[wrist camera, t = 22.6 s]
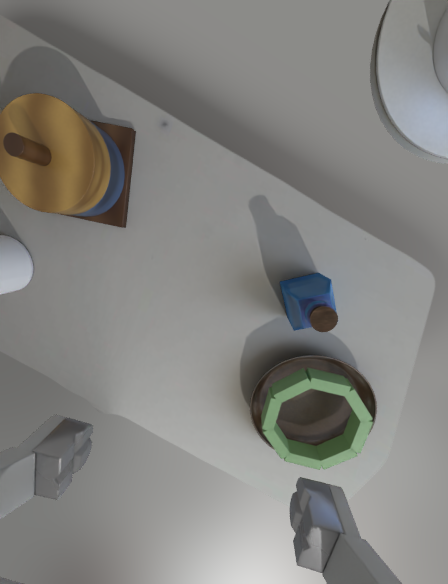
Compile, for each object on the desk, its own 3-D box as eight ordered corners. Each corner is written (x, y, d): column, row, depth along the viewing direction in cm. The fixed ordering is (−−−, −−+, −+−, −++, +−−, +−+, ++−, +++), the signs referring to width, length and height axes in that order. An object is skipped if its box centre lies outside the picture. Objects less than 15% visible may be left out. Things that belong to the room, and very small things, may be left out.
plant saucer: (301, 465, 48) (305, 482, 45) (226, 394, 46) (225, 406, 43) (392, 404, 44) (404, 418, 40) (314, 323, 42) (319, 330, 39)
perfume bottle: (318, 272, 40) (347, 288, 28) (324, 308, 41) (355, 338, 29) (279, 281, 41) (292, 300, 29) (287, 316, 42) (302, 348, 30)
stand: (135, 131, 38) (79, 80, 25) (126, 227, 41) (71, 224, 29) (46, 114, 39) (-52, 55, 26) (44, 210, 42) (-44, 199, 29)
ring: (374, 382, 40) (384, 394, 37) (343, 461, 43) (350, 477, 40) (276, 360, 40) (278, 369, 37) (254, 439, 44) (254, 453, 41)
